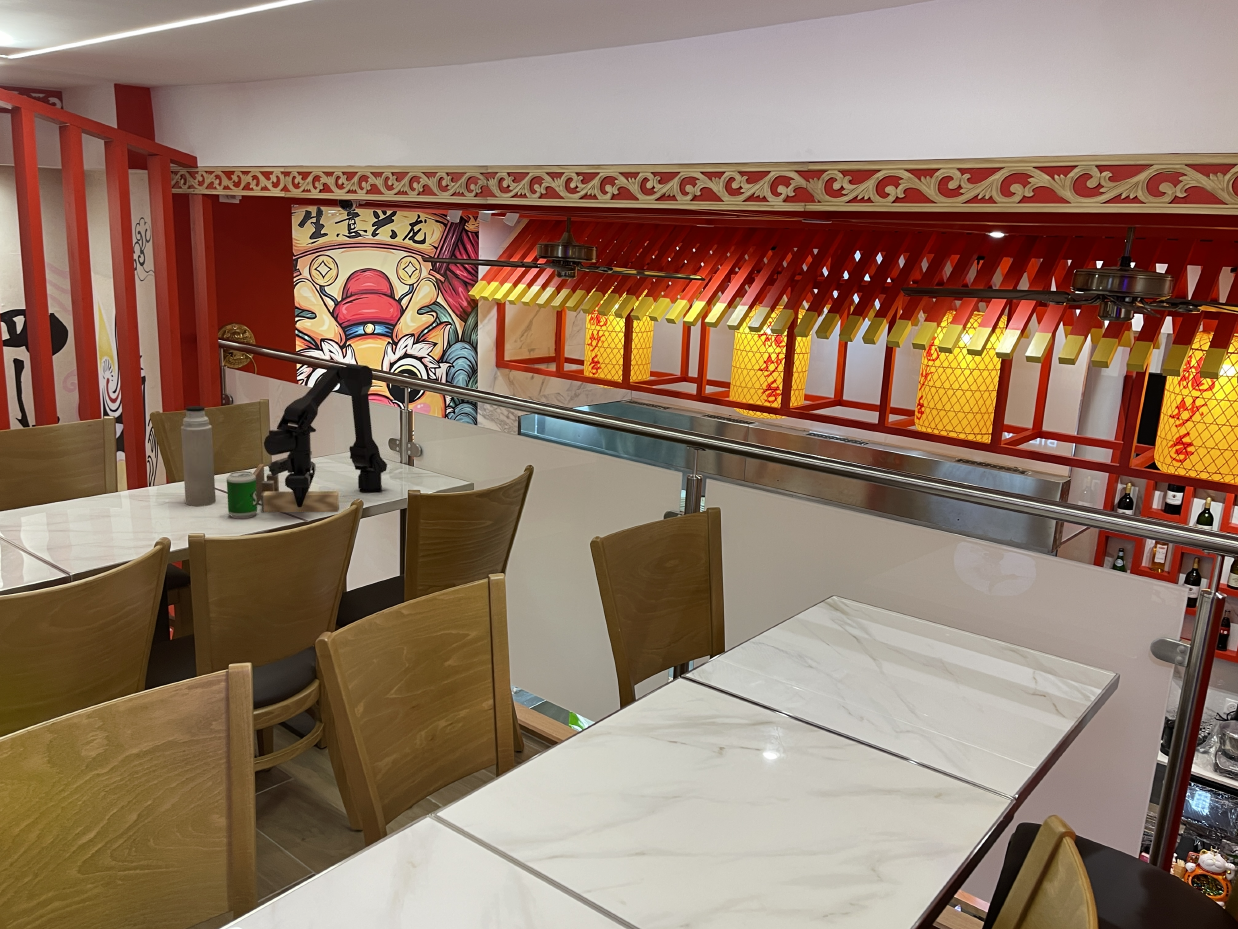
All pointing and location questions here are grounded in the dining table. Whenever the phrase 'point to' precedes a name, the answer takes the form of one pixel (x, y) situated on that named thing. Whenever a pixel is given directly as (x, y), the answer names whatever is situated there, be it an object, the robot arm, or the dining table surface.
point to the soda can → (242, 494)
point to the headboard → (265, 482)
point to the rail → (312, 502)
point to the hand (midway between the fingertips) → (301, 502)
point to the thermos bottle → (198, 458)
